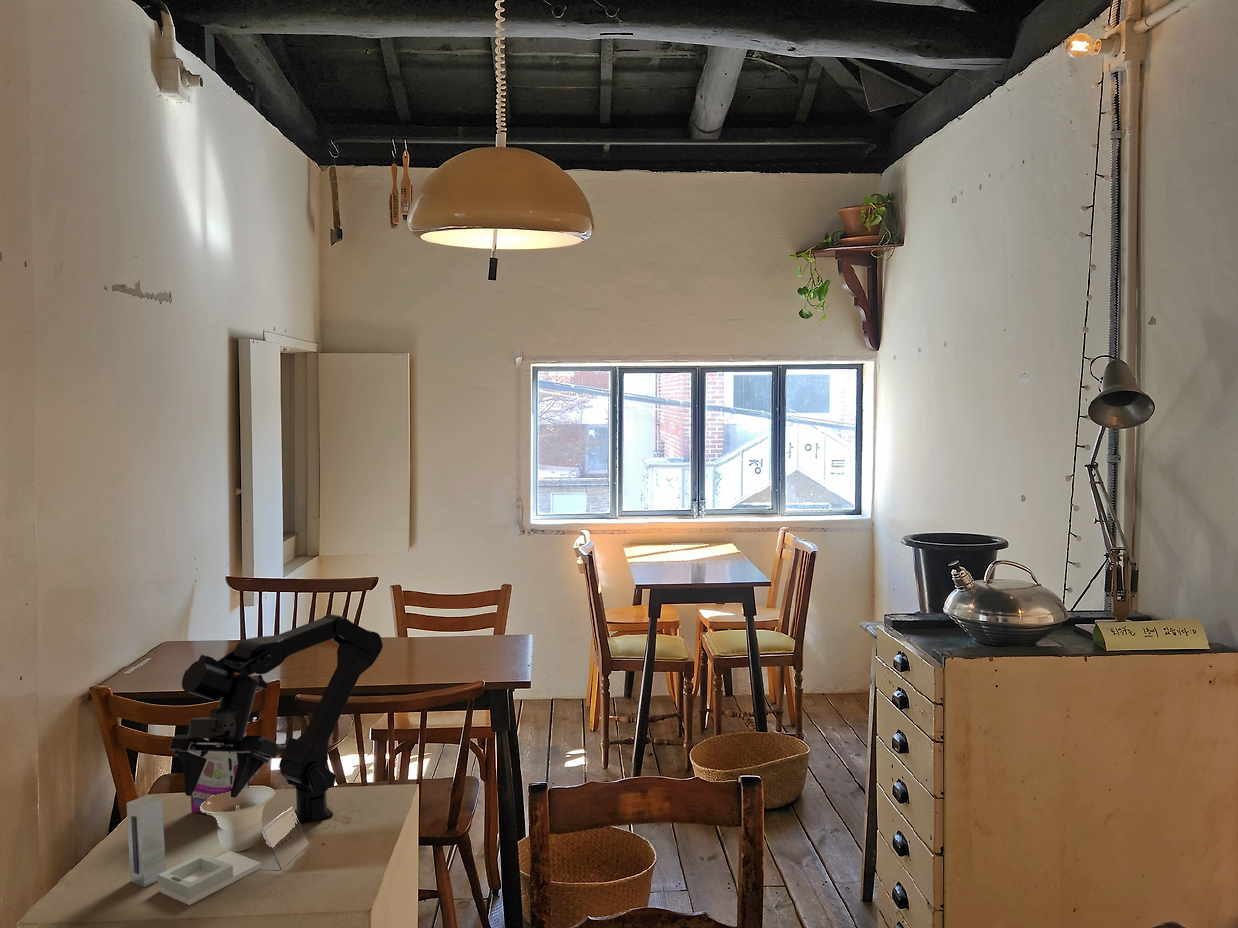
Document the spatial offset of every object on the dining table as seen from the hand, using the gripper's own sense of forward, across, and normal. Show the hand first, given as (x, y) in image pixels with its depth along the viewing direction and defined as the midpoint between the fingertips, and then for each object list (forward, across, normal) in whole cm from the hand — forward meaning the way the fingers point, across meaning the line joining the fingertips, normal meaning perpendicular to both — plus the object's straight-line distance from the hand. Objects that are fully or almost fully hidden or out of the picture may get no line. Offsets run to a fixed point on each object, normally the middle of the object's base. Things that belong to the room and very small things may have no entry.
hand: (210, 796), depth 165 cm
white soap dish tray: (+13, 0, +6) cm, 14 cm away
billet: (+13, -11, +4) cm, 18 cm away
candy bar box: (-1, -16, +25) cm, 30 cm away
